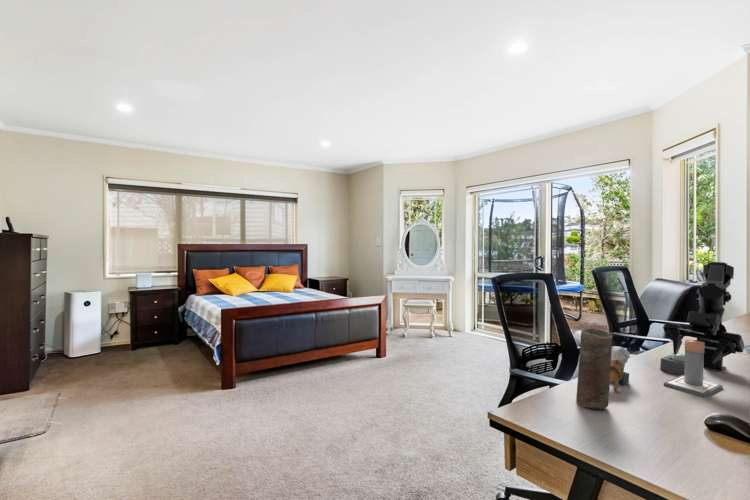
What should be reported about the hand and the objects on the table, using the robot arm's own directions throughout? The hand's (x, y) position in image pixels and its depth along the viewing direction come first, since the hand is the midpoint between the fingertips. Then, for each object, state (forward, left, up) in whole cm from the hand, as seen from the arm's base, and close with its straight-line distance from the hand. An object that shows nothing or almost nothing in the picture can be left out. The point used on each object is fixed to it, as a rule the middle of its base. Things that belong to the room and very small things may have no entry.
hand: (692, 358), depth 115 cm
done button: (-14, -8, -6) cm, 17 cm away
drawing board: (-1, 0, -9) cm, 9 cm away
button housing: (-14, -8, -9) cm, 19 cm away
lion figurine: (+27, -12, -9) cm, 31 cm away
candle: (+41, -8, -9) cm, 43 cm away
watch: (+16, -14, -9) cm, 23 cm away
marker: (-1, 0, -8) cm, 8 cm away
